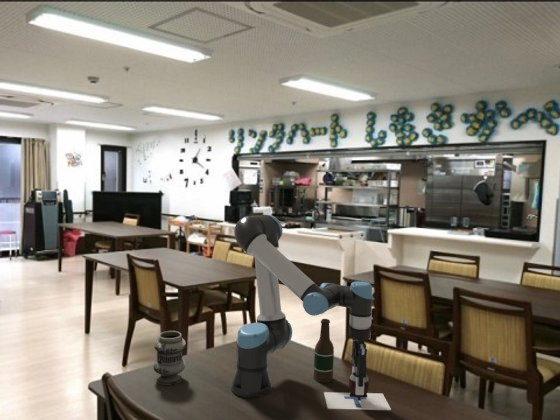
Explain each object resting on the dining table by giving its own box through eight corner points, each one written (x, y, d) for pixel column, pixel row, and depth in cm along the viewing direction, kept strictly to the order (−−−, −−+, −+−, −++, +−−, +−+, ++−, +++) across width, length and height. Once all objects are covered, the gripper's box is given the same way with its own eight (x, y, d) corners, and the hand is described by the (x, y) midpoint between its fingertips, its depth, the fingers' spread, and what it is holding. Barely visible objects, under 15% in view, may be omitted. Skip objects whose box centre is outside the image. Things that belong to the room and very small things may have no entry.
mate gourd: (370, 401, 158) (371, 359, 157) (347, 400, 158) (349, 358, 157) (366, 391, 166) (368, 351, 165) (344, 390, 166) (346, 350, 165)
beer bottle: (320, 373, 186) (322, 315, 184) (336, 378, 181) (339, 319, 180) (309, 379, 180) (311, 319, 178) (325, 385, 175) (328, 324, 173)
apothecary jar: (161, 389, 167) (162, 341, 166) (148, 378, 176) (148, 332, 175) (190, 381, 175) (191, 335, 174) (176, 370, 184) (177, 327, 183)
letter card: (327, 409, 157) (327, 408, 157) (323, 392, 169) (323, 392, 169) (391, 410, 157) (391, 409, 157) (382, 394, 169) (382, 393, 169)
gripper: (377, 336, 150) (374, 403, 152) (364, 317, 170) (362, 377, 172) (354, 335, 150) (352, 402, 152) (344, 317, 170) (342, 377, 172)
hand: (357, 389), depth 162 cm, fingers closed on mate gourd, 7 cm apart
